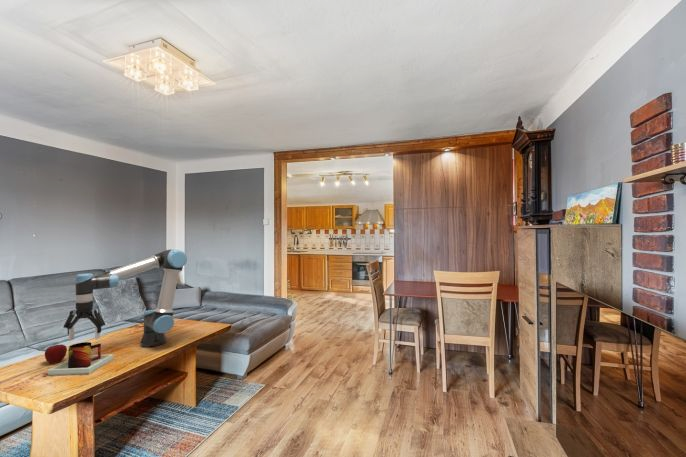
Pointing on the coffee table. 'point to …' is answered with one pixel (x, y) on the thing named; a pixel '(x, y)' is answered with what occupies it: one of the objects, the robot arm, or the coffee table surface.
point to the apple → (55, 353)
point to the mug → (82, 355)
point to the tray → (95, 365)
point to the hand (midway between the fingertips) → (84, 339)
